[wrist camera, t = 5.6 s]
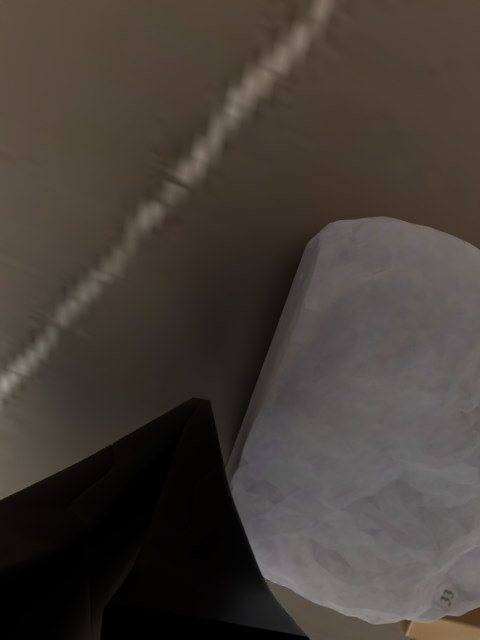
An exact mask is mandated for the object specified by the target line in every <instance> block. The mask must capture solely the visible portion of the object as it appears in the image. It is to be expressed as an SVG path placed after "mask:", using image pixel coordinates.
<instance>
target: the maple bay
mask: <svg viewBox="0 0 480 640" xmlns="http://www.w3.org/2000/svg"><path fill="white" fill-rule="evenodd" d="M400 624H401V626H402V629H403V631H404V634H405V636H406V637H409V638H413V639H418V640H480V607H478V608H475V609H473V610H470V611H468V612H466V613H465V614H463V615H461V616H452V615H446V616H444V617H442V618H440V619H438V620H436V621H434V622H432V623H420V622H415V621H411V620H407V619H405V620H401V621H400Z"/></svg>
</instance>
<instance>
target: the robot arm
mask: <svg viewBox="0 0 480 640" xmlns="http://www.w3.org/2000/svg"><path fill="white" fill-rule="evenodd" d="M0 640H310V639H309V638H308V637H307V635H306V634H305V633H304V632H303V631H302V630H301V628H300V627H299V626H298V625H297V624H296V623H295V621H294V620H293V619H292V618H291V617H290V615H289V614H288V613H287V612H286V611H285V610H284V608H283V607H282V606H281V605H280V604H279V603H278V601H277V600H276V599H275V597H274V596H273V594H272V593H271V591H270V589H269V588H268V586H267V584H266V582H265V580H264V577H263V575H262V573H261V571H260V568H259V566H258V563H257V561H256V558H255V556H254V553H253V550H252V548H251V545H250V543H249V540H248V537H247V535H246V532H245V529H244V527H243V524H242V522H241V519H240V516H239V514H238V511H237V508H236V505H235V502H234V499H233V497H232V494H231V491H230V487H229V483H228V479H227V475H226V471H225V466H224V462H223V457H222V453H221V448H220V443H219V439H218V434H217V429H216V425H215V420H214V415H213V411H212V406H211V401H210V400H207V399H201V398H195V397H194V398H191V399H190V400H188V401H186V402H184V403H183V404H181V405H179V406H177V407H176V408H174V409H172V410H170V411H169V412H167V413H165V414H163V415H162V416H160V417H158V418H156V419H155V420H153V421H151V422H149V423H148V424H146V425H144V426H142V427H141V428H139V429H137V430H135V431H133V432H132V433H130V434H128V435H126V436H125V437H123V438H121V439H119V440H118V441H116V442H114V443H113V445H112V444H111V445H109V446H107V447H105V448H103V449H102V450H100V451H98V452H96V453H94V454H93V455H91V456H89V457H87V458H85V459H83V460H82V461H80V462H78V463H76V464H74V465H72V466H70V467H68V468H66V469H64V470H62V471H60V472H58V473H56V474H54V475H52V476H50V477H48V478H45V479H43V480H41V481H39V482H37V483H35V484H33V485H31V486H29V487H27V488H25V489H23V490H21V491H18V492H16V493H14V494H12V495H10V496H8V497H6V498H4V499H2V500H0Z"/></svg>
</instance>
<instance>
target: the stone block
mask: <svg viewBox="0 0 480 640" xmlns="http://www.w3.org/2000/svg"><path fill="white" fill-rule="evenodd" d="M225 471H226V475H227V479H228V483H229V487H230V491H231V494H232V497H233V499H234V502H235V505H236V508H237V511H238V514H239V516H240V519H241V522H242V524H243V527H244V529H245V532H246V535H247V537H248V540H249V543H250V545H251V548H252V550H253V553H254V556H255V558H256V561H257V563H258V566H259V568H260V571H261V573H262V575H263V577H264V578H266V579H268V580H269V581H271V582H274V583H276V584H278V585H281V586H285V587H287V588H289V589H290V590H292V591H294V592H295V593H297V594H299V595H300V596H302V597H304V598H306V599H307V600H309V601H311V602H313V603H315V604H318V605H322V606H325V607H329V608H332V609H334V610H336V611H338V612H340V613H342V614H344V615H346V616H355V617H358V618H360V619H362V620H365V621H367V622H369V623H371V624H374V625H376V624H386V623H395V622H398V621H401V620H405V619H407V620H411V621H415V622H420V623H432V622H434V621H436V620H438V619H440V618H442V617H444V616H446V615H452V616H461V615H463V614H465V613H466V612H468V611H470V610H473V609H475V608H478V607H480V249H478V248H476V247H475V246H473V245H471V244H470V243H468V242H466V241H464V240H461V239H459V238H457V237H455V236H452V235H450V234H447V233H444V232H441V231H438V230H436V229H433V228H430V227H427V226H422V225H417V224H411V223H408V222H405V221H402V220H398V219H395V218H390V217H386V216H383V217H370V218H362V219H356V220H340V221H335V222H332V223H329V224H328V225H326V226H325V227H324V228H323V229H322V230H321V231H320V232H319V233H318V234H317V235H316V236H314V237H313V238H312V239H311V240H310V241H309V242H308V243H307V245H306V248H305V250H304V252H303V256H302V259H301V262H300V264H299V267H298V270H297V272H296V275H295V278H294V280H293V283H292V286H291V289H290V292H289V295H288V297H287V300H286V303H285V306H284V309H283V311H282V314H281V317H280V320H279V323H278V325H277V328H276V331H275V334H274V337H273V339H272V342H271V345H270V348H269V350H268V353H267V356H266V358H265V361H264V364H263V366H262V369H261V372H260V375H259V378H258V381H257V383H256V386H255V389H254V392H253V394H252V397H251V400H250V404H249V407H248V409H247V412H246V415H245V418H244V420H243V423H242V426H241V429H240V431H239V434H238V436H237V439H236V442H235V444H234V447H233V450H232V452H231V455H230V458H229V461H228V464H227V466H226V468H225Z"/></svg>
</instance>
